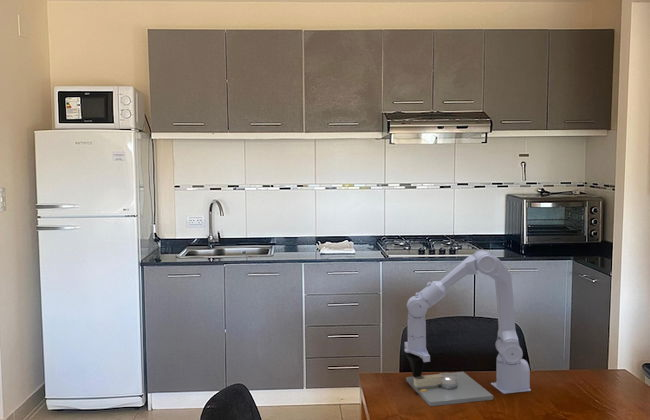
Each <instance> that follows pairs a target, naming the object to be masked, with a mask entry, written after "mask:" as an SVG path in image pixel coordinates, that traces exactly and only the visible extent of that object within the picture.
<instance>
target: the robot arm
mask: <svg viewBox="0 0 650 420" xmlns="http://www.w3.org/2000/svg"><path fill="white" fill-rule="evenodd" d="M478 271H479V273H480V274H483V275H484V276H488V277H490V278H492V279H493V280H494V284H495V299H496V311H497V324H498V330H497V339H496V341H495V344H494V345H495V349H496V351H497V352H498V354H497V356H496V381H494V382H490V385H491V386H493V387H494V388H495V389H497V390H498V391H499V392H500V393H501V394H504V395H506V394H513V393H524V392H531V391H532V389H531V387H530V386H531V384H530V383H531V381H530V376H531V375H530V374H531V372H530V365H529V363H528V361H527V360H526V359H524V358H523V356H524V353H523V349H522V347H521V346H520V341H519V337H518V334H517V331H516V320H515V319H516V318H515V304H514V293H513V279H512V274H511V272H510V271H509V269H508V268H507V267H506V266H505V265H504V264H503V261H501V259H499V258H498V257H496V256H495V255H494V254H492V253H490V251H487V250H486V249H478V250H476V251H475V252H473V254H471V255H468V256H467V257H466V258H465V259H463V260H462V261H461V262H460V263H459V264H458V265H457V266H456V267H455V268H453V269H452V270H451V271H450V272H449V273H448V274H446V275H445V276H444V277H443V278H442V279H440V280H433V281H432V282H431V281H428V282H427V283H426V287H423V289H422V290H420V291H419V292H418V291H417V292H416V293H415V295H413V296H410V297H409V298H408V300H407V303H406V309H407V310H408V312H407V341H404V348H403V349H404V352H405V353H406V358H407V360H408V363H409V365H410V369H411V373H412V377H420V376H422V373H423V369H424V366H425V364H426V363H429V362H431V355H430V354H429V352H428V349H427V326H426V325H427V321H426V314H427V312H428V309H431V307H434V305H435V304H437V303H438V302H440V300H442V299H443V298H444V297H445V296H446V295H447V290H448V289H449V288H450V287H452V286H454V285H455V284H456V283H457V282H459V281H460V280H462V279H464V278H465V277H466V276H467V275H469V276H471V275H479V274H478Z"/></svg>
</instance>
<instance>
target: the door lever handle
mask: <svg viewBox="0 0 650 420" xmlns="http://www.w3.org/2000/svg"><path fill="white" fill-rule="evenodd" d="M452 373H453V372H440V373H435V374H436V375H434V374H427V375H428V376H423V375H421V376H420V377H414V386H416V387H423V386H430V385H438V386H439V387H440V388H443V389H456V388H457V387H458V376H457V375H455V374H452Z"/></svg>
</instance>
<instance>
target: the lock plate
mask: <svg viewBox="0 0 650 420" xmlns="http://www.w3.org/2000/svg"><path fill="white" fill-rule="evenodd" d="M451 373H452V374H455V375H457V376H458V387H457V388H456V389H443V388H440V387H439V386H438V385H430V386H423V387H416V386H414V377H413V376H406V377H405V380H406V382H407V384H409V385H410V387H411V388H412V389H413V390H414V391H415V392H416V393H417V394H418V395H419V396H420V397H421V399H422V400H423V401H424V402H425V403H426V404H427V405H428V406H429V407H435V406H447V405H455V404H464V403H472V402H473V403H474V402H482V401H483V402H485V401H491V400H494V395H493V394H492V393H491V392H490V391H488V390H487V389H486V388H484V387H483V386H482V385H481V384H479V383H478V382H477V381H476V380H475V379H473V378H472V377H470V376H469V375H468V374H467V373H465V372H464V371H456V372H451ZM436 374H437V373H435V374H433V375H436ZM428 375H429V374H425V375H422V376H428Z"/></svg>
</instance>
